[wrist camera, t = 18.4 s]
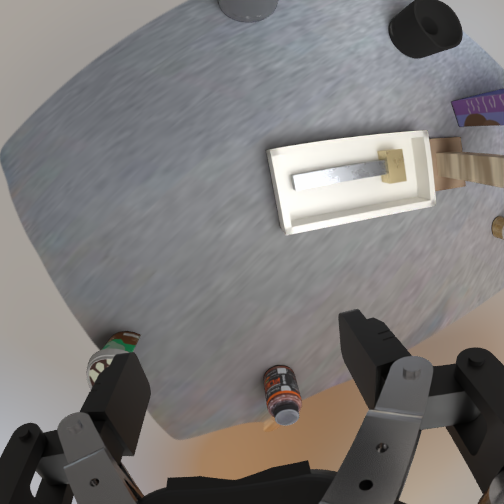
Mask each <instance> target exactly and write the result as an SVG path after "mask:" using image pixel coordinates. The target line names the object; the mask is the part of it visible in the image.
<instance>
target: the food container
mask: <svg viewBox="0 0 504 504" xmlns="http://www.w3.org/2000/svg"><path fill="white" fill-rule="evenodd" d="M140 336H141V335H140V334H137V333H135V332H129V331H123V332H118V333H116V334H114V335H113V336H112V337H111V338H110V339H109V341H108V342H107V343H106V345H105V346H104V347H103V349H102V350H100V351H98V352H96V353H95V354H94V355H92V357H91V358H90V360H89V363H88V367H87V381H88V385H89V387H90V389H91V388H92V386H93V385H94V383H95V381H96V379H97V377H98V375H99V374H100V373H101V372H102V371H103V370H104V369H105V368H106V367H109V366H110V364H111V362H112V360H113V358H114V356H115V355H116V354H121V353H129V352H134V349H135V347H136V345H137V342H138V340H139V338H140Z"/></svg>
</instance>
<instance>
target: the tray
mask: <svg viewBox="0 0 504 504" xmlns="http://www.w3.org/2000/svg"><path fill="white" fill-rule="evenodd" d="M388 149H402V151H403V157H404V164H405V171H406V179H407V181H404V182H398V183H392V184H389V183H384V182H382V179H381V175H380V176H374V177H368V178H362V179H356V180H351V181H345V182H340V183H334V184H329V185H324V186H318V187H313V188H308V189H303V190H298V191H295V190H293V186H292V181H291V175H292V174H297V173H303V172H308V171H314V170H319V169H325V168H330V167H336V166H342V165H348V164H354V163H360V162H367V161H373V160H379V159H378V153H377V151H381V150H388ZM266 153H267V158H268V163H269V168H270V173H271V179H272V184H273V189H274V194H275V200H276V205H277V210H278V216H279V221H280V227H281V229H282V231H283V232H284V233H285V235H291V234H296V233H300V232H305V231H310V230H315V229H320V228H325V227H330V226H335V225H340V224H345V223H350V222H355V221H360V220H365V219H370V218H375V217H380V216H385V215H390V214H395V213H400V212H405V211H410V210H416V209H421V208H426V207H431V206H436V198H435V185H434V175H433V166H432V157H431V149H430V142H429V136H428V130H422V131H408V132H396V133H385V134H375V135H365V136H357V137H348V138H340V139H333V140H326V141H318V142H312V143H305V144H299V145H293V146H287V147H281V148H275V149H269V150H266Z"/></svg>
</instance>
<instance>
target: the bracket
mask: <svg viewBox="0 0 504 504" xmlns="http://www.w3.org/2000/svg"><path fill="white" fill-rule="evenodd" d="M429 142H430V149H431V157H432V166H433V175H434V185H435V191H439V190H445V189H451V188H457V187H463V186H466V185H465V181H470V182H476V183H481V184H486V185H491V186H496V187H501V188H504V155H497V154H484V153H470V152H462V144H461V137H449V138H434V139H429Z"/></svg>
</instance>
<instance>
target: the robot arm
mask: <svg viewBox="0 0 504 504" xmlns="http://www.w3.org/2000/svg"><path fill="white" fill-rule="evenodd" d="M277 3H278V0H219V5H220V8H221V10H222V11H223V12H224V13H225V14H226V15H227V16H228V17H230V18H232V19H234V20H237V21H241V22H256V21H260V20H263V19H265V18H267V17H269V16H270V15H271V14H272V13H273V12H274V10H275V9H276V6H277ZM339 331H340V344H341V352H342V356H343V359H344V362H345V364H346V366H347V368H348V370H349V371H350V373H351V375H352V377H353V379H354V381H355V383H356V385H357V387H358V389H359V391H360V393H361V395H362V396H363V398H364V400H365V402H366V404H367V406H368V408H369V411H368V412H367V414H366V416H365V418H364V421H363V423H362V425H361V427H360V429H359V431H358V433H357V435H356V438H355V440H354V442H353V444H352V446H351V448H350V450H349V451H348V453H347V455H346V457H345V459H344V461H343V463H342V465H341V467H340V469H339V470H338V472H335V471H329V470H320V469H319V470H318V469H310V466H309V462H308V460H307V461H303V462H298V463H293V464H288V465H283V466H278V467H273V468H270V469H267V470H264V471H262V472H259V473H256V474H253V475H250V476H247V477H244V478H242V479H238V480H227V479H218V478H210V477H202V476H197V477H178V478H177V477H176V478H168V480H167V487H166V488H162V489H159V490H156V491H154V492H152V493H149V494H148V495H146V496H144V495H143V494H142V492H141V491H140V489H139V488H138V486H137V485H136V483H135V482H134V480H133V479H132V477H131V476H130V474H129V473H128V471H127V469H126V468H125V466H124V465H123V464H122V462H121V459H122V456H134V454H135V450H136V446H137V443H138V439H139V435H140V432H141V428H142V424H143V421H144V416H145V413H146V410H147V406H148V403H149V399H150V395H151V391H150V385H149V382H148V380H147V378H146V375H145V373H144V371H143V369H142V367H141V364H140V362H139V360H138V357H137V356H136V354H135V353H134V352H129V353H121V354H116V355H115V356H114V358H113V360H112V362H111V364H110V366H109V367H106V368H105V369H104V370H103V371H102V372H101V373H100V374H99V375H98V377H97V379H96V381H95V383H94V385H93V386H92V388H91V392H89V395H88V397H87V398H86V400H85V402H84V404H83V406H82V408H81V410H80V412H77V413H73V414H70V415H68V416H67V417H65V418H64V419H63V420H62V421H61V422H60V423H59V426H58V429H57V430H54V431H49V432H45V433H43V432H42V430H41V429H40V428H39V426H38V425H37V424H34V423H27V424H24V425H22V426H20V427H19V428H17V430H15V431H14V433H13V435H12V436H11V438H10V440H9V442H8V444H7V446H6V447H5V449H4V451H3V453H2V455H1V457H0V504H71V503H72V499H73V496H74V497H75V499H76V501H77V504H406V503H403V502H401V501H399V498H400V495H401V493H402V490H403V487H404V485H405V482H406V479H407V476H408V473H409V470H410V467H411V464H412V461H413V458H414V455H415V451H416V448H417V445H418V441H419V438H420V434H421V431H422V430H423V429H431V428H438V427H444V426H445V427H446V429H447V430H448V432H449V434H450V435H451V437H452V439H453V441H454V442H455V444H456V446H457V447H458V449H459V451H460V453H461V454H462V456H463V458H464V460H465V461H466V463H467V465H468V467H469V469H470V470H471V472H472V474H473V476H474V478H475V479H476V482H477V483H478V485H479V487H480V489H481V491H482V493H483V495H482V497H481V498H480V500H479V502H478V504H504V365H503V364H502V363H501V362H500V361H499V360H498V359H497V358H496V357H495V356H494V355H493V354H492V353H491V352H489V351H488V350H486V349H482V348H468V349H465V350H463V351H462V352H461V353H460V354H459V355H458V356H457V360H456V364H450V365H443V366H432V364H431V363H430V362H429V361H428V360H427V359H425V358H422V357H418V356H412V355H411V354H410V353H409V352H408V351H407V349H406V348H405V347H404V346H403V345H402V343H401V342H400V341H399V340H398V339H397V337H395V335H394V334H393V333H392V332H391V331H390V329H389V328H388V327H387V326H386V325H385V323H384V322H382V321H380V320H378V319H375V318H370V319H366V318H365V317H364V315H363V314H362V313H361V312H360V310H359V309H354V310H351V311H347V312H343V313H339ZM35 471H36V472H37V473H38V474H39V475H40V476H41V477H42V480H41V483H40V485H39V488H38V491H37V494H36V497H34V496H33V495H32V493H31V490H30V484H31V481H32V478H33V476H34V473H35Z"/></svg>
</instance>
